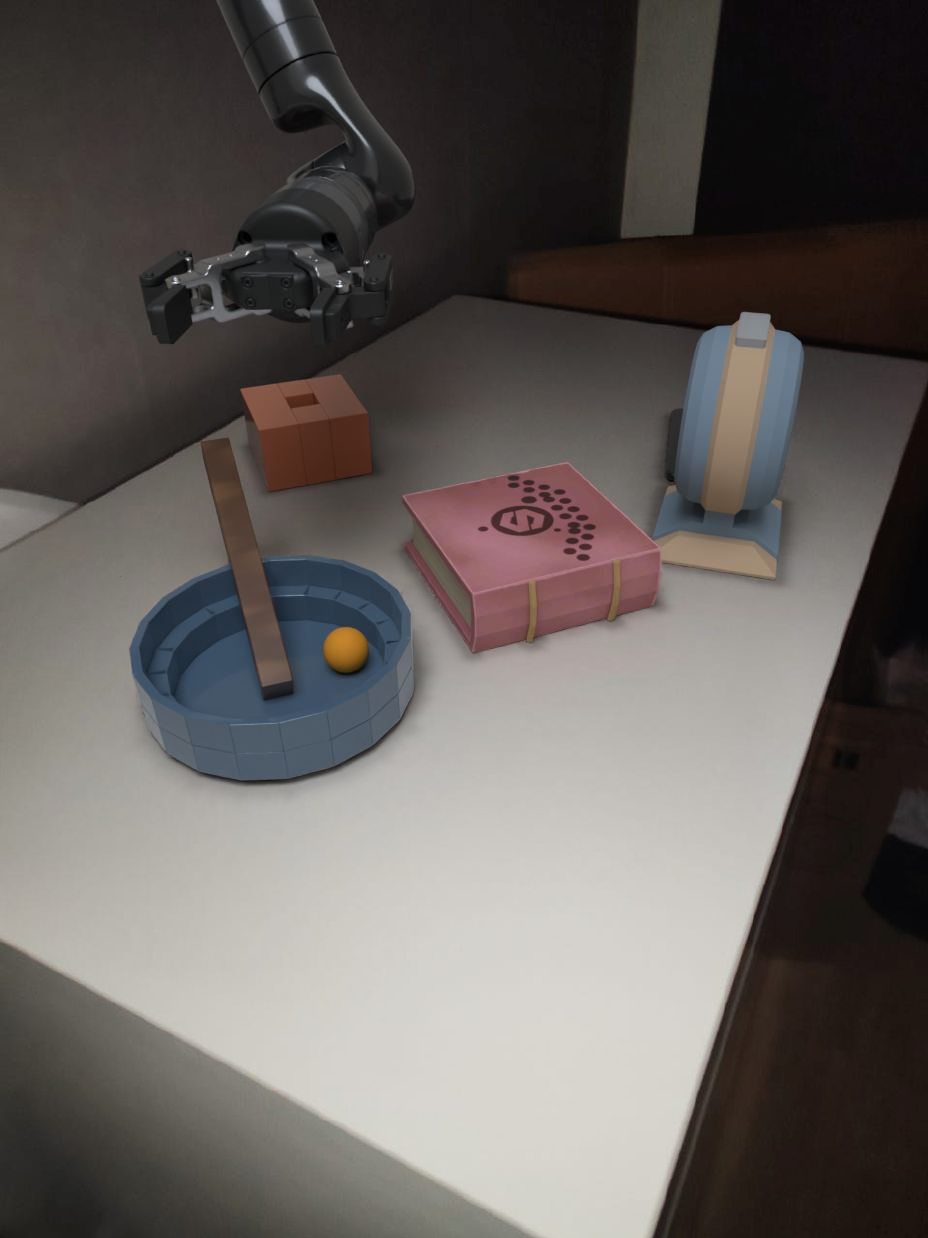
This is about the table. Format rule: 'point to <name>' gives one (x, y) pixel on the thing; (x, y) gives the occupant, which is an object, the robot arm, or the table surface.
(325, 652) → the ball
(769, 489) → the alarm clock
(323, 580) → the bowl
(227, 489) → the stick
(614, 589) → the book
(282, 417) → the holder
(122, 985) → the table surface
